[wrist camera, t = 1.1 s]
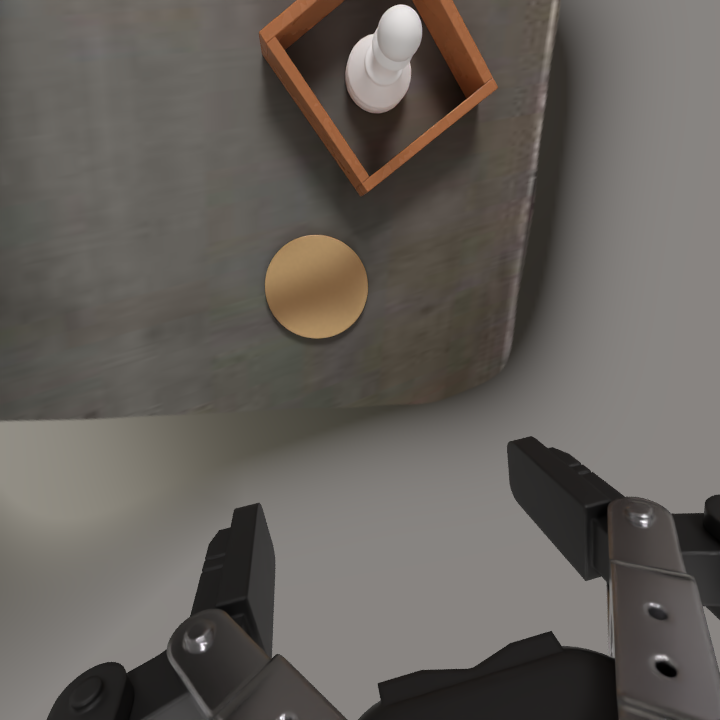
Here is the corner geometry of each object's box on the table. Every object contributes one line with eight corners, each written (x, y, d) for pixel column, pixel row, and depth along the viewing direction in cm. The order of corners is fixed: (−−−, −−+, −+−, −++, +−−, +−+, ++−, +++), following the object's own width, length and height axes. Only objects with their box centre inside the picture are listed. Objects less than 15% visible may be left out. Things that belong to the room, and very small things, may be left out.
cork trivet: (243, 278, 36) (242, 279, 35) (325, 212, 35) (325, 212, 35) (309, 356, 39) (309, 358, 38) (386, 296, 38) (387, 297, 38)
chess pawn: (414, 101, 34) (455, 54, 26) (358, 123, 34) (381, 84, 25) (393, 32, 33) (430, -42, 24) (334, 55, 32) (350, -11, 24)
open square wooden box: (261, 53, 32) (258, 31, 28) (392, -56, 31) (405, -92, 28) (360, 196, 36) (367, 192, 32) (478, 101, 35) (498, 87, 32)
